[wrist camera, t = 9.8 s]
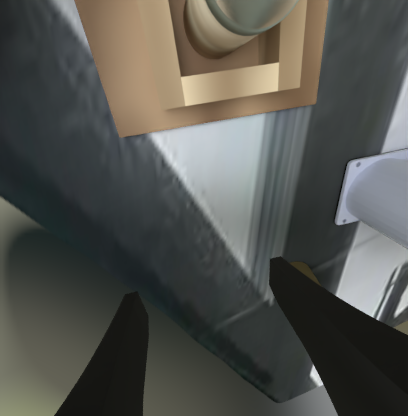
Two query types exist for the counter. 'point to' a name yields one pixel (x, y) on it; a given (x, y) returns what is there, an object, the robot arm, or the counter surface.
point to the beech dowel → (230, 23)
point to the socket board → (198, 65)
